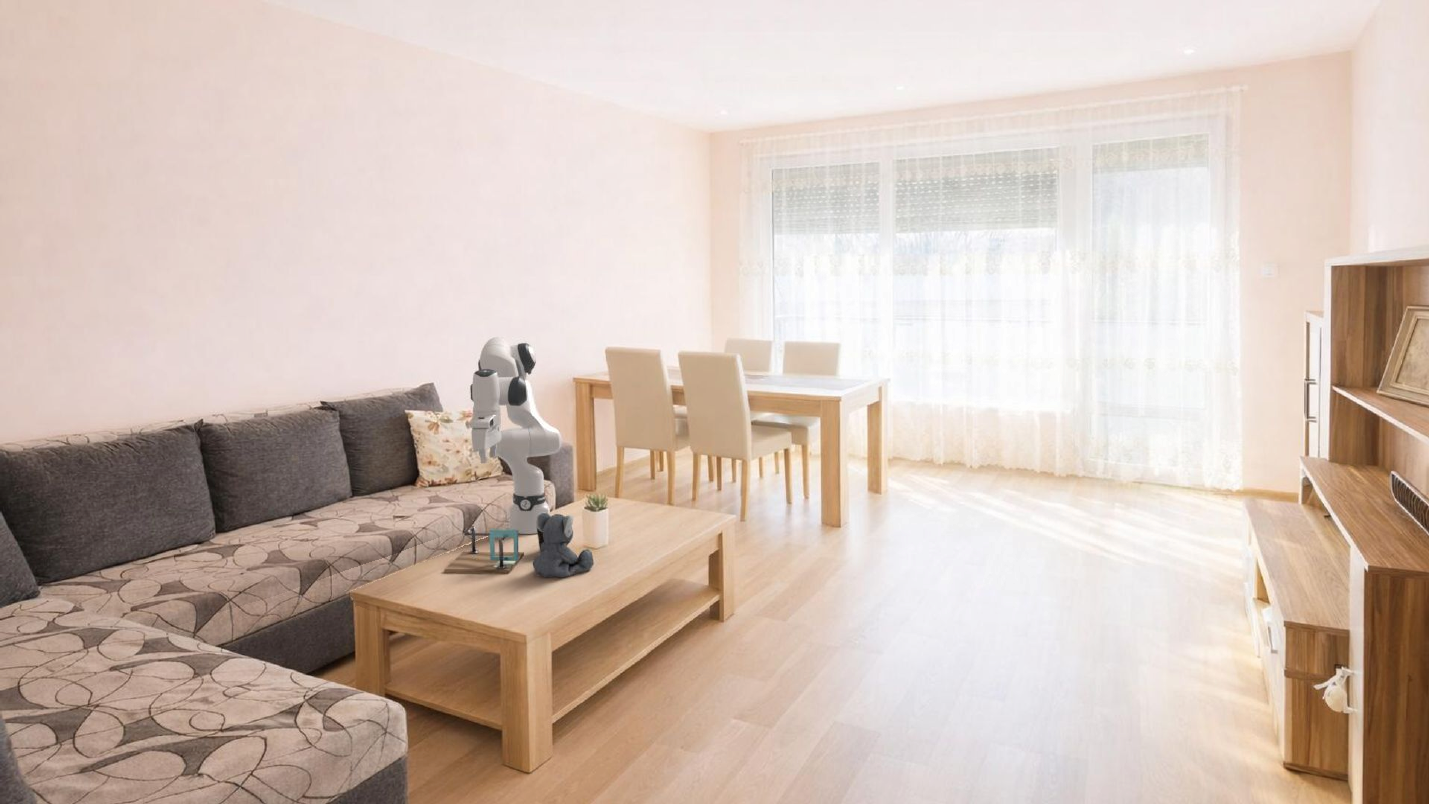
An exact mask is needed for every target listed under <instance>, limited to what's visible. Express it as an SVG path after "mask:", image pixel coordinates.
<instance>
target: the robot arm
mask: <svg viewBox="0 0 1429 804" xmlns="http://www.w3.org/2000/svg"><path fill="white" fill-rule="evenodd" d="M535 352H536V351H535V350H534V348H533V347H532V346H531V345H530V344H529V343H527V342H521V343H517V344H513V345H510V344H509V342H508V341H507V340H506V339H505V338H502V337H498V336H497V337H496V336H495V337H492V338H490V339H489V340H487V342H486V343H485V344H484V345H483V348H482V350H481V352H480V355H479V359H478V362H477V366H478V370H476V371H475V372H473V377H472V384H471V385H470V389H469V390H470V392H469V393H470V400H471V401H472V402H473V407H472V418H471V420H470V421H469V429H471V433H470V434H471V445H472V449H473V451H474V452H478V456H479V458H480V463H481V464H486V463H487V462H488V457H487V451H488V449H489V453H488V454H489V458H490V459H491V458H495V457H496V456H497V457H499V458H500V459H501V460H502V461H504V462H505V463H506V464H507V466H508V467H509V469H510V471H511V475H512V481H513V482H512V483H513V493H512V502H513V504H512V505H511V507H510V508H509V514H508V515H509V516H508V517H509V519H508V520H509V521H508V524H507V525H506V526H505V529H511V530H518V535H519V534H520V535H526V534H527V535H531V534H532V535H533V534H537V527H536V519H537V517H536V516H537V515H538V514H539V513H541V512H545V513H548V514H549V515H550V516H551V508H550V505H549V504H548V503H547V499H546V498H547V495H546V489H545V483H544V482H545V481H544V480H545V478H544V477H545V475H544V472H543V471H542V469H541V468H539V467H537V466H536V465H533V464H531V463H528V458H534V457H543V456H549V455H553V454H557V453H558V452H559V451H560V450H561V447H562V445H563V437H562V434H561V432H560V431H559V429H557V428H556V427H554V426H552V425H550V424H549V423H548V422H546V421H545V420H544V419H543V417H542V416H541V415H540V413H539V409H538V407H537V404H536V400H535V399H536V398H535V394H534V389H533V387H532V384H531V381H530V379H529V377H528V376H530V375H531V374H532V371H533V369H534V368H535V366H536V362H537V360H536V359H537V357H536V353H535ZM527 374H528V376H527ZM501 406H505V408H506V414H507V417H508V420H509V421H511V423H512V424H514V425H516V426H519V427H521V428H519V427H518V428H507V429H504V430H503V429H501V428H502V427H501V423H502V422H501V421H502V420H501V419H502V418H501Z"/></svg>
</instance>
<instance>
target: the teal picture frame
mask: <svg viewBox="0 0 1429 804" xmlns="http://www.w3.org/2000/svg"><path fill="white" fill-rule="evenodd" d="M489 533H490V536H489V552H490V560H493V561H500V560H499V556H495V552H496V548H495V543H496V542H495V541H496V540H495V538H500V539H502V538H505V539H506V538H507V539H513V552H514V556H503V561H518V560H519V555H518V552H519V533H518V530H511V529H503V528H501V529H500V528H497V529H496V528H494V529H493V528H490V529H489Z"/></svg>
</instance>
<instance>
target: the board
mask: <svg viewBox="0 0 1429 804" xmlns="http://www.w3.org/2000/svg"><path fill="white" fill-rule="evenodd" d="M469 552H470V551H462V552H461V553H460V554H459V555H458V556H456V558H455V559H454V560H453V561H452V562H451V563H449V564H448V565H447V566H446V567H445V568H444V573H447V574H448V573H450V574H452V573H453V574H455V573H456V574H509V575H510V573H511V572H512V571H513V570H514V568H515V567H516V566H517V565H518V564H519V562H520V561H521V560H522V559H523V558H524V557H525V552H523V551H518V555H519V560H518V561H503V565H506V568H505V569H497V566H499V565H500V561H493V560H490V551H479V552H478V553H476V554H470V553H469ZM495 556H499V551H495ZM503 556H514V551H503Z"/></svg>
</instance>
